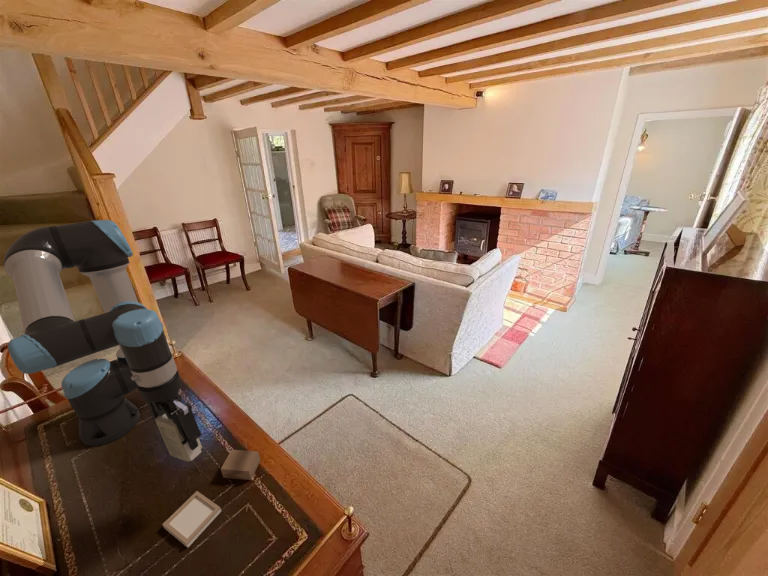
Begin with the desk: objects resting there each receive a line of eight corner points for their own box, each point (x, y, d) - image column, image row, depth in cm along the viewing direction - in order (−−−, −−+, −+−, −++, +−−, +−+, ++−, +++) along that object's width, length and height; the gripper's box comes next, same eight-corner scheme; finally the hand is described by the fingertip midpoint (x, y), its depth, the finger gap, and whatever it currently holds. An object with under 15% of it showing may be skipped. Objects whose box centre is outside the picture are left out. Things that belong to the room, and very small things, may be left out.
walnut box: (223, 478, 88) (220, 469, 87) (234, 458, 94) (231, 449, 92) (251, 480, 88) (248, 471, 86) (260, 460, 93) (258, 451, 91)
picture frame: (164, 528, 77) (162, 524, 76) (198, 494, 84) (196, 490, 83) (187, 547, 73) (186, 544, 72) (221, 511, 80) (220, 507, 80)
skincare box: (203, 447, 80) (191, 412, 74) (188, 462, 76) (174, 426, 71) (183, 440, 81) (170, 405, 76) (168, 454, 78) (153, 419, 73)
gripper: (113, 374, 69) (146, 447, 79) (168, 403, 62) (198, 479, 71) (148, 356, 76) (175, 425, 85) (203, 379, 68) (226, 453, 78)
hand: (185, 450), depth 78 cm, fingers closed on skincare box, 6 cm apart
